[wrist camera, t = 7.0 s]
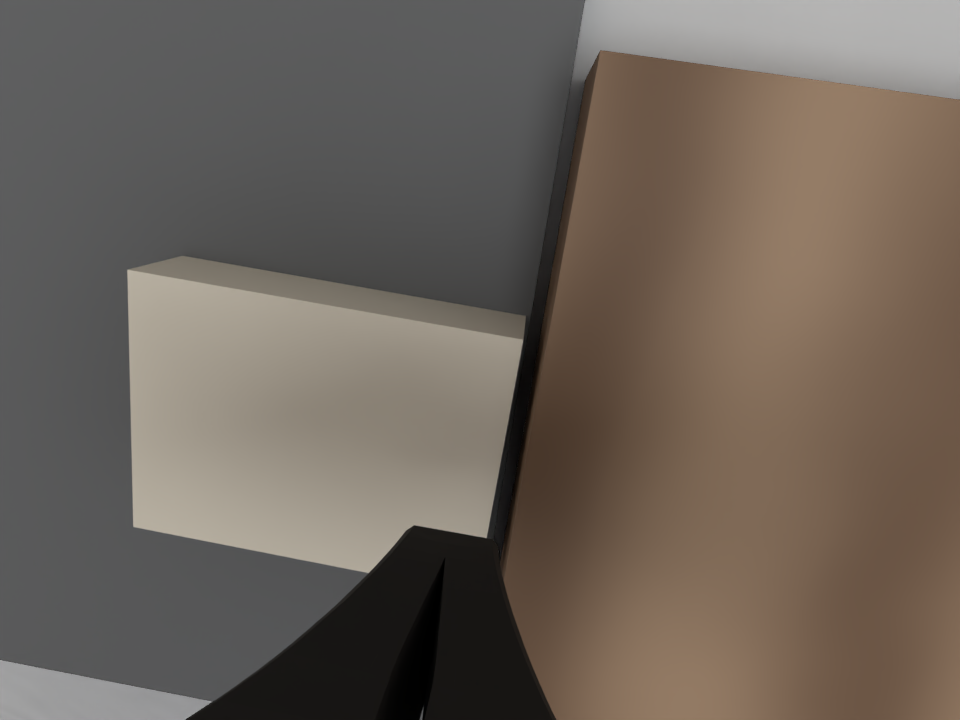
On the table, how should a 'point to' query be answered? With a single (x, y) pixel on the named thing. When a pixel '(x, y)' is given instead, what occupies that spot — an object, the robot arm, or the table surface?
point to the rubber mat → (238, 241)
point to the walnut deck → (746, 405)
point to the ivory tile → (312, 411)
